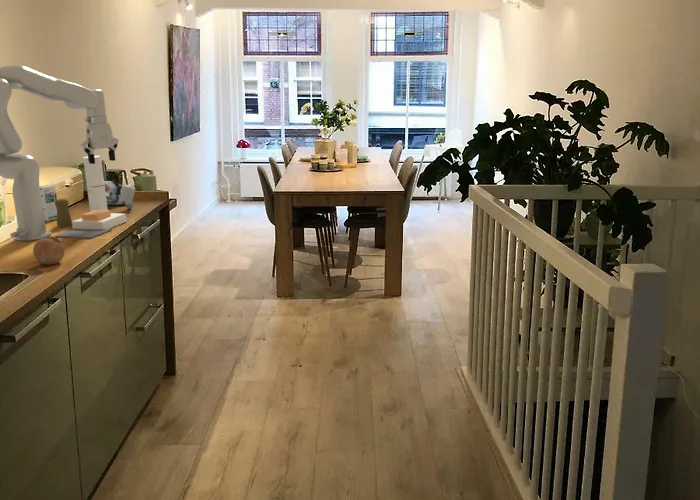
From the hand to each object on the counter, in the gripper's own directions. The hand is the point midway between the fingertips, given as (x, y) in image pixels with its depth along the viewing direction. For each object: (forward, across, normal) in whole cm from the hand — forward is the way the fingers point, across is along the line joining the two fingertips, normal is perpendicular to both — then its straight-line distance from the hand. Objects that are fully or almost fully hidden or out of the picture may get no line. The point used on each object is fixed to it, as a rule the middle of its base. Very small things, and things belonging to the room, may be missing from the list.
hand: (102, 162), depth 301 cm
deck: (+24, -12, -10) cm, 28 cm away
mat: (+24, -23, -16) cm, 37 cm away
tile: (+20, -13, -10) cm, 26 cm away
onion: (+24, -55, -45) cm, 75 cm away
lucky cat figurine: (+24, +21, +24) cm, 40 cm away
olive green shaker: (+24, -18, +5) cm, 30 cm away
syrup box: (+24, -14, +22) cm, 36 cm away
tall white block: (+24, +3, +11) cm, 27 cm away
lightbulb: (+24, +16, +8) cm, 30 cm away
